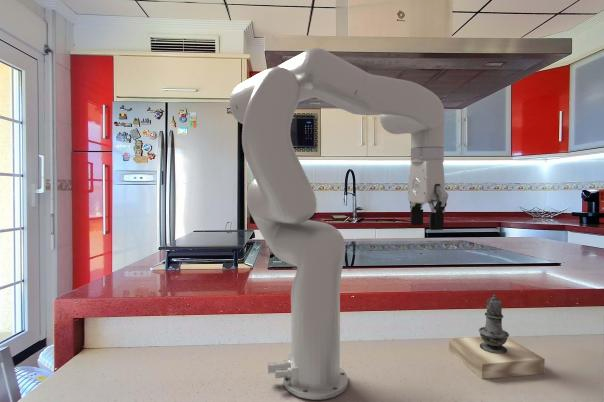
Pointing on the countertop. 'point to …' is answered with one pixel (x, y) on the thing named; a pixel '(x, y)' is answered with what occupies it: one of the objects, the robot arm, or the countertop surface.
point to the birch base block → (496, 358)
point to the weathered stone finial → (493, 328)
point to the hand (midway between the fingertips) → (426, 227)
